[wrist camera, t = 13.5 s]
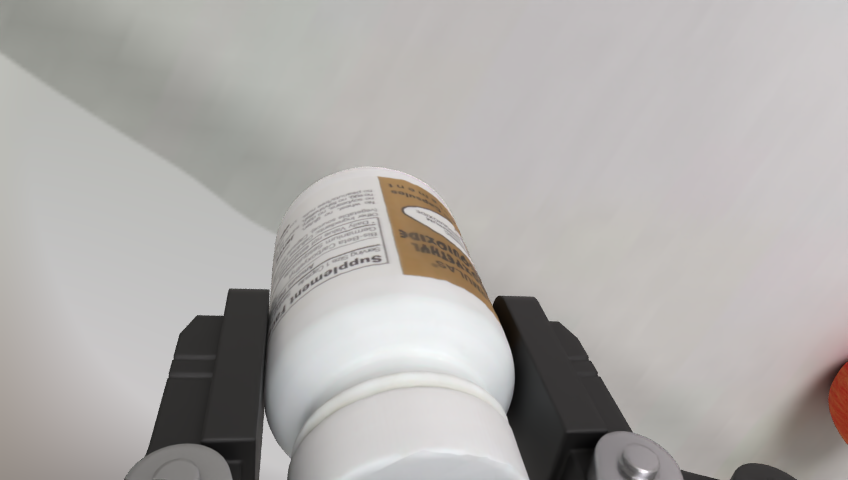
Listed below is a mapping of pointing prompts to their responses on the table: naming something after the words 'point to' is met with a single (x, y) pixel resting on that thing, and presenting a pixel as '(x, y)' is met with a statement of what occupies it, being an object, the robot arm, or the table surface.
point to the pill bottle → (384, 339)
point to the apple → (840, 401)
